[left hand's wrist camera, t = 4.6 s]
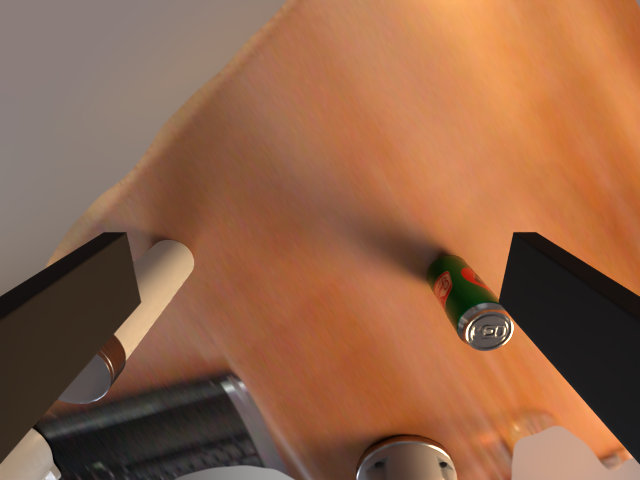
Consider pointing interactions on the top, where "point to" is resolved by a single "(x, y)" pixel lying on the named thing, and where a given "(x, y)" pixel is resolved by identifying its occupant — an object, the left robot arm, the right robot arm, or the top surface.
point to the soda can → (469, 304)
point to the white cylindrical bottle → (155, 288)
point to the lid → (97, 374)
